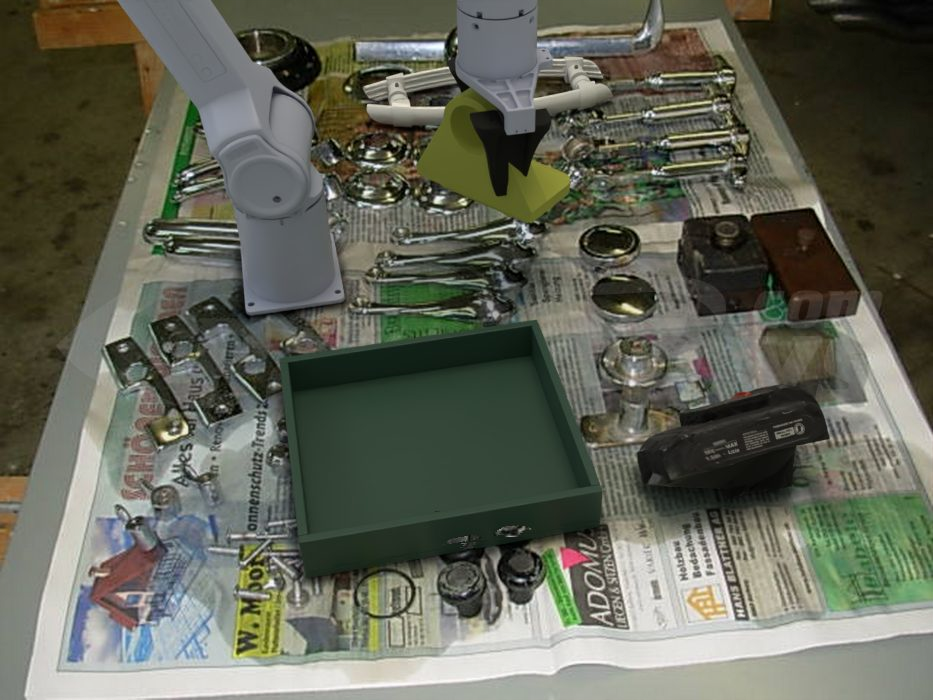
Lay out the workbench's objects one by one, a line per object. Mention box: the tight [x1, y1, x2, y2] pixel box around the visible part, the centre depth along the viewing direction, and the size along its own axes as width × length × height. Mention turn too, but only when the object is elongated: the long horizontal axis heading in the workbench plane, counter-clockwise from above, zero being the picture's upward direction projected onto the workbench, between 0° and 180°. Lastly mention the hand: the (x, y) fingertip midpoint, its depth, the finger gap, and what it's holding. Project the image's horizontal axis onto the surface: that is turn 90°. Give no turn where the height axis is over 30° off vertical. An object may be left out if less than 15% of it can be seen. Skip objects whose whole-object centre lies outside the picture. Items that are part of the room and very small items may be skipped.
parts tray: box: [278, 319, 604, 579], centre depth 76 cm, size 17×19×4 cm
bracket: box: [416, 88, 571, 224], centre depth 86 cm, size 11×6×10 cm, turn 51°
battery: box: [636, 383, 830, 501], centre depth 73 cm, size 12×8×7 cm
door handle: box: [362, 56, 614, 128], centre depth 113 cm, size 3×10×25 cm
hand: (497, 168), depth 87 cm, fingers closed on bracket, 6 cm apart
